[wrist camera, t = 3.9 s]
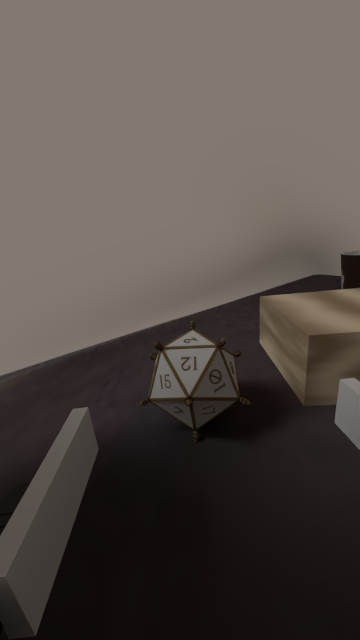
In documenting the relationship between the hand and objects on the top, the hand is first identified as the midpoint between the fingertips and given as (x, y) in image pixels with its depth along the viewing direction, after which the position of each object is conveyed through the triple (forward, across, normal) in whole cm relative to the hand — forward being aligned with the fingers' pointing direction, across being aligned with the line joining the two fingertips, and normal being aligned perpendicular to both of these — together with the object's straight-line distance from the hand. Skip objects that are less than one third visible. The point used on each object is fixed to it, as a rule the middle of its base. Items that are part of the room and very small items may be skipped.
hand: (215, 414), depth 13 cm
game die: (+7, -1, -6) cm, 10 cm away
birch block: (+13, +16, -6) cm, 22 cm away
